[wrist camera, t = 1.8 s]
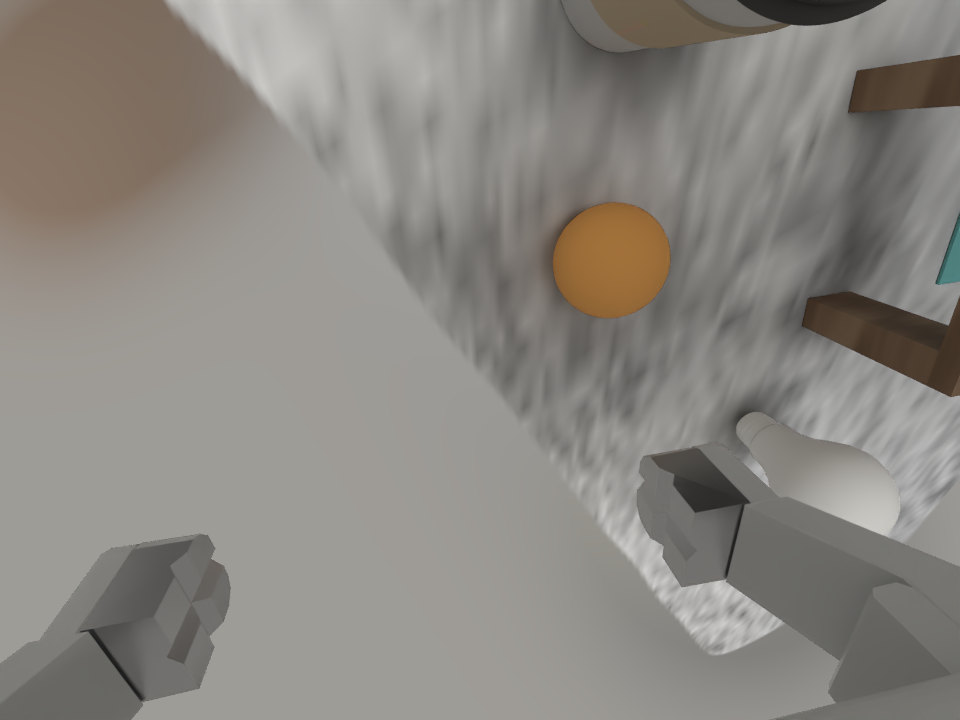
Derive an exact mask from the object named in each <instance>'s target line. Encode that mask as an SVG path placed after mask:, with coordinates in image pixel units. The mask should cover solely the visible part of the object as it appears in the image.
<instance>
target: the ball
mask: <svg viewBox="0 0 960 720" xmlns="http://www.w3.org/2000/svg"><path fill="white" fill-rule="evenodd" d="M669 268H670V246H669V242H668V239H667V236H666V234H665V232H664V230H663V228H662V227H661V225H660V224H659V223H658V222H657V220H656V219H655V218H654V217H653V216H651V215H650V214H649V213H648V212H646V211H644V210H643V209H641V208H639V207H636V206H634V205H630V204H626V203H616V202H613V203H605V204H600V205H596V206H593V207H591V208H589V209H587V210H585V211H583V212H582V213H580V214H579V215H577V216H576V217H575V218H574V219H573V220H572V221H571V222H570V223H569V224H568V225H567V226H566V227H565V229H564V230H563V231H562V233H561V235H560V237H559V239H558V241H557V244H556V247H555V251H554V256H553V272H554V276H555V280H556V283H557V286H558V288H559V290H560V292H561V293H562V295H563V296H564V297H565V299H566V300H567V301H568V302H569V303H570V304H571V305H572V306H574V307H575V308H577V309H578V310H579V311H581V312H583V313H586V314H588V315H591V316H594V317H600V318H617V317H622V316H626V315H629V314H632V313H634V312H636V311H638V310H640V309H641V308H643V307H644V306H646V305H647V304H648V303H649V302H650V301H651V300H652V299H653V298H654V297H655V296H656V295H657V294H658V293H659V291H660V289H661V288H662V286H663V284H664V282H665V281H666V278H667V275H668V272H669Z"/></svg>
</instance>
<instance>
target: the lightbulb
mask: <svg viewBox="0 0 960 720" xmlns="http://www.w3.org/2000/svg"><path fill="white" fill-rule="evenodd" d="M736 434H737V436H738V437H739V438H740V439H741V441H742V442H743V443H744V444H745V445H746V446H747V447H748V448H749V449H750V451H751V454H752V456H753V457H754V458H755V460H756V461H757V462H758V463H759V464H760V465H761V466H762V468H763V469H764V471H765V473H766V475H767V478H768V481H769V486H770V489H771V490H772V491H773V492H774V493H775V494H776V495H777V496H778V497H780V498H783V497H790V498H793V499H795V500H797V501H800V502H802V503H805V504H807V505H810V506H812V507H815V508H817V509H819V510H822V511H824V512H827V513H829V514H832V515H834V516H837V517H839V518H842V519H844V520H846V521H849V522H851V523H854V524H856V525H859V526H861V527H864V528H866V529H868V530H871V531H873V532H876V533H878V534H881V535H883V536H885V535H886V534H888V533H889V531H890V530H891V529H892V528H893V527H894V525H895V523H896V522H897V519H898V516H899V513H900V508H901V504H900V496H899V491H898V488H897V485H896V483H895V481H894V479H893V478H892V476H891V475H890V473H889V472H888V470H887V469H886V468H885V467H884V466H883V465H882V464H881V463H880V462H879V461H878V460H876V459H875V458H874V457H872V456H871V455H869V454H868V453H866V452H864V451H862V450H859V449H857V448H855V447H852V446H850V445H846V444H841V443H836V442H831V441H826V440H818V439H813V438H810V437H807V436H804V435H802V434H800V433H798V432H796V431H795V430H793V429H792V428H790V427H789V426H786V425H784V424H779V423H778V422H777V421H775V420H773V419H772V418H770V417H769V416H768V415H766V414H764V413H762V412H752V413H749V414H747V415H745V416H744V417H742V418H741V419H740V421H739V422H738V424H737V426H736Z"/></svg>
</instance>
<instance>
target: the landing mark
mask: <svg viewBox="0 0 960 720" xmlns="http://www.w3.org/2000/svg"><path fill="white" fill-rule="evenodd" d="M958 281H960V216H959V218H958V221H957V224H956V227H955V230H954V233H953V236H952V239H951V242H950V245H949V248H948V250H947V253H946V256H945V259H944V262H943V265H942V268H941V271H940V274H939V277H938V280H937V282H936V284H938V285H940V284H946V283H952V282H958Z"/></svg>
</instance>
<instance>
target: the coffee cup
mask: <svg viewBox="0 0 960 720" xmlns="http://www.w3.org/2000/svg"><path fill="white" fill-rule="evenodd" d="M885 1H886V0H561V2H562V5H563V8H564V10H565V13H566V15H567V17H568V19H569V21H570V23H571V24H572V26H573V27H574V29H575V30H576V31H577V32H578V34H579V35H580V36H581V37H582V38H583V39H585V40H586V41H587V42H588V43H590V44H591V45H593V46H595V47H597V48H599V49H602V50H605V51H609V52H616V53H622V52H630V51H636V50H641V49H646V48H669V47H676V46H682V45H689V44H696V43H702V42H709V41H715V40H722V39H728V38H735V37H741V36H748V35H754V34H761V33H767V32H771V31H775V30H778V29H782V28H784V27H787V26H789V25H803V26H810V25H822V24H829V23H834V22H838V21H842V20H845V19H848V18H851V17H854V16H856V15H859V14H861V13H863V12H866V11H868V10H870V9H872V8H874V7H876V6H877V5H879V4H881V3H883V2H885Z"/></svg>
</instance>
